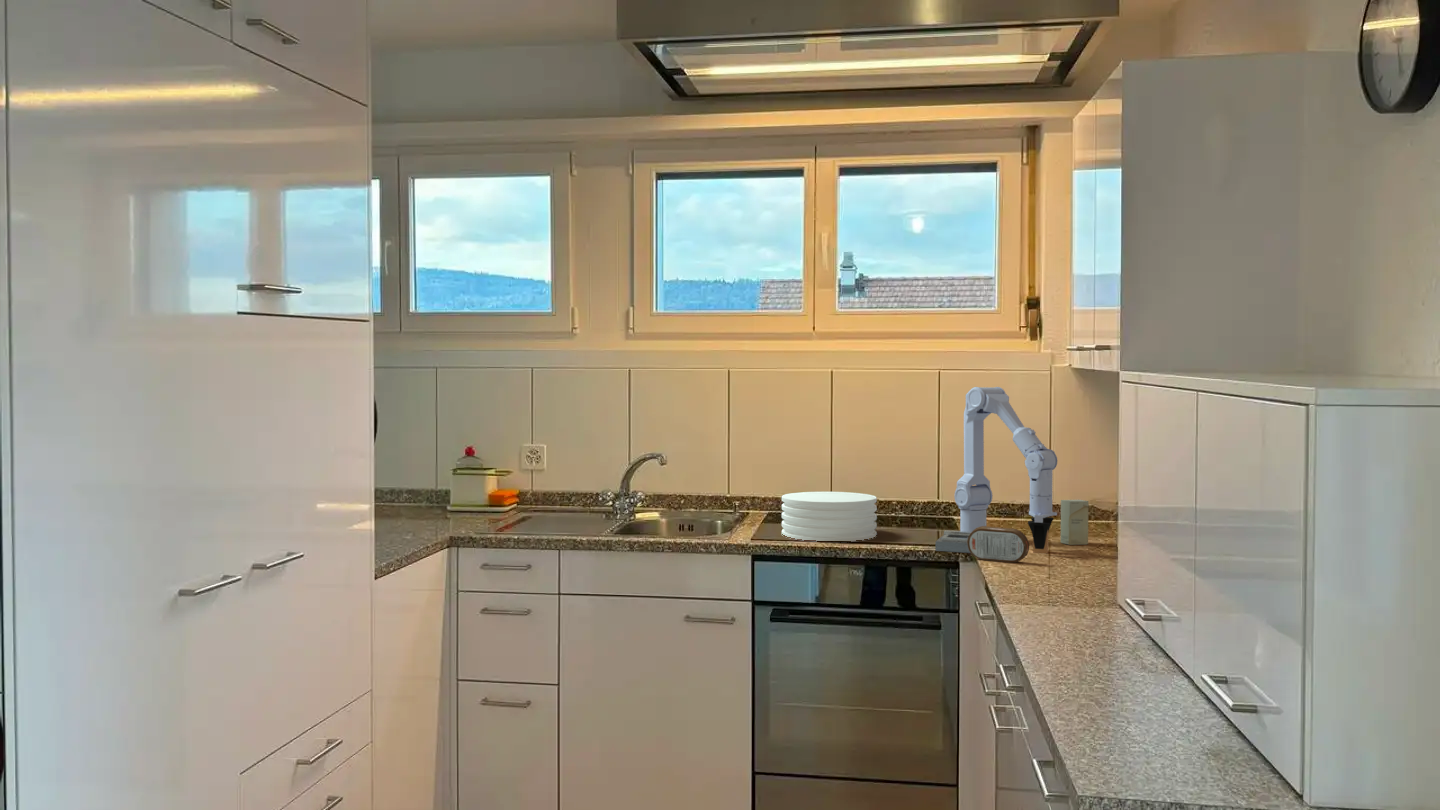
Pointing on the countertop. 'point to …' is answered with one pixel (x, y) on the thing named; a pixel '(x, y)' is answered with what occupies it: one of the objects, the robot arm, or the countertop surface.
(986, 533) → the tin
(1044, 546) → the tan cardboard-like brick
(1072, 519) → the skincare box
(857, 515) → the plate stack
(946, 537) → the nested square metal frame
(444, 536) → the countertop surface
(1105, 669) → the countertop surface
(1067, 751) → the countertop surface
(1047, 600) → the countertop surface
